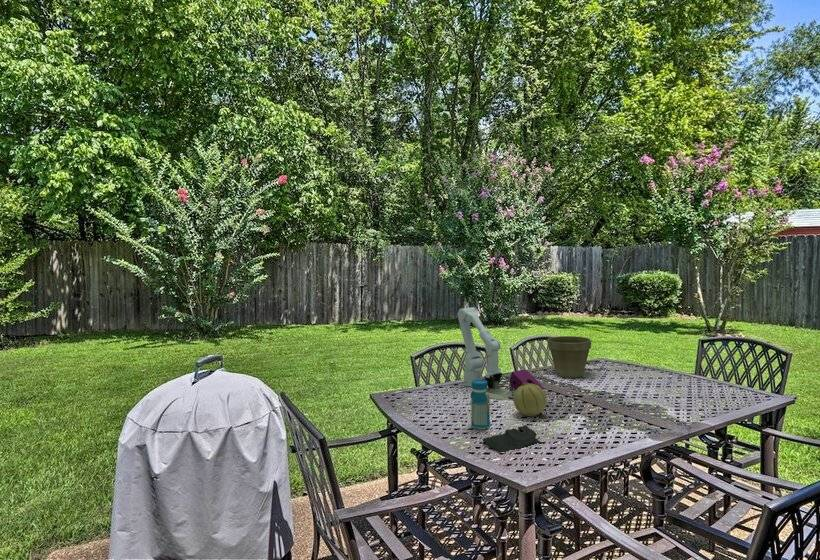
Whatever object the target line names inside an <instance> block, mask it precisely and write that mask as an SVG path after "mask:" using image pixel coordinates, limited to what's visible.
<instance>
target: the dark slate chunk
mask: <svg viewBox="0 0 820 560" xmlns="http://www.w3.org/2000/svg"><path fill="white" fill-rule="evenodd" d="M536 437H537V432H536V431H535V430H534V429H531V428H530V427H529V426H528V425H526V424H524V425H522V426H518V427H517V428H514V427H513V428H511V429H505V431H504V433H500V434H495V435H492V436H487V437H484V438H482V442H483V443H485V444H486V445H487V446H489V447H490V448H491V449H492V450H494V451H495V450H496V451H495V452H497V451H498V452H497V453H499V452H506V451H509V450H515V449H521V448H524V447H528V446H531V445H534V444H537V443H540V440H539V439H538V438H536ZM538 440H539V441H538ZM531 447H532V446H531ZM528 448H529V447H528ZM524 449H525V448H524ZM521 450H522V449H521Z"/></svg>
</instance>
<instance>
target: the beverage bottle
mask: <svg viewBox="0 0 820 560" xmlns="http://www.w3.org/2000/svg"><path fill="white" fill-rule="evenodd" d="M487 387H488V385H487V381H486V380H485V379H482V378H481V379H478V380H473V381H472V387H471V390H473V391H472V393H471V392H470V393H471V394H470V395H469V398H470V401H469V403H470V404H469V405H470V416H471V417H470V419H471V421H470V426H471V427H472V428H473V429H475V428H477V429H476V430H487V429H489V428H490V427H491V417H490V413H491V412H490V410H491V409H490V406H491V401H490V398H489V394H488V392H487ZM486 428H487V429H486Z"/></svg>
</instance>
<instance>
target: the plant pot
mask: <svg viewBox="0 0 820 560" xmlns="http://www.w3.org/2000/svg"><path fill="white" fill-rule="evenodd" d="M546 342H547V348H548V349H549V351H550V355H551V358H552V362H553V366H554V369H555V373H556V375H557V376H558V377H561V378H565V379H578V378H582V377H583V375H584V373H585V369H586V365H587V360H588V356H589V353H590V350H591V348H592V339H591V338H588V337H584V336H583V337H582V336H573V335H572V336H571V335H569V336H568V335H566V336H565V335H564V336H563V335H562V336H561V335H560V336H553V337H549V338H547V341H546Z"/></svg>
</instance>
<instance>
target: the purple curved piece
mask: <svg viewBox="0 0 820 560" xmlns="http://www.w3.org/2000/svg"><path fill="white" fill-rule="evenodd" d="M522 383H525V384H535V385H537V386H539V387H540V388H541V389H542V390H543V391H544V387H543V385H542V383H540V381H538V380H537V379H536V378H535V377H534V376H533V375H532V374H531V373H530V372H529V371H528V370H527V369H525V368H524V369H520V370H514V371H512V372H511V374H510V377H509V385H510V387H511V389H512V388H514V389H513V390H515V389H517V388H518V387H520V386H521V385H522Z"/></svg>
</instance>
